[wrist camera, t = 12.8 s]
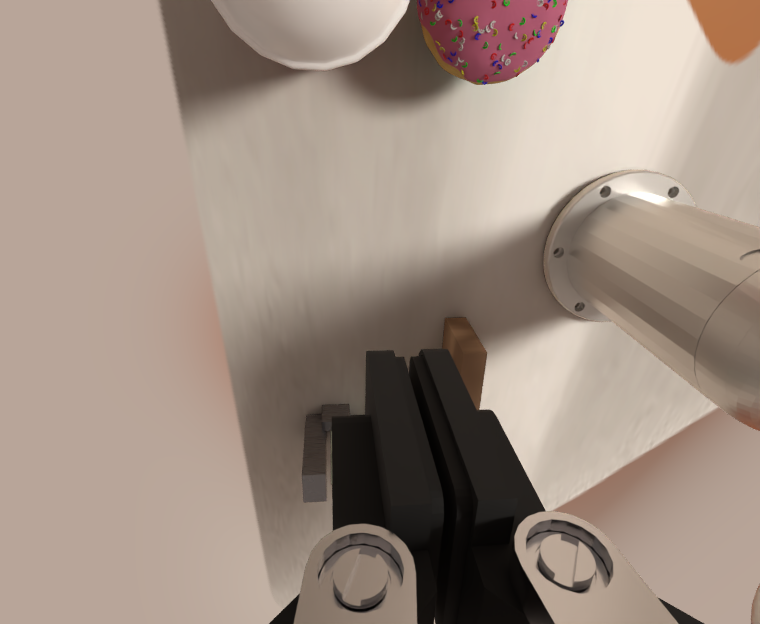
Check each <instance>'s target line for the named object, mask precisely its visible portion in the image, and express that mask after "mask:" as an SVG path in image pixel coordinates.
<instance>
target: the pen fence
mask: <svg viewBox="0 0 760 624" xmlns="http://www.w3.org/2000/svg"><path fill="white" fill-rule="evenodd" d="M442 349H448V350H449V352H450V354H451V356H452V358H453V360H454V362H455V365H456V367H457V369H458V371H459V373H460V375H461V377H462V380H463V382H464V384H465V386H466V388H467V390H468V392H469V394H470V397H471V399H472V401H473V403H474V405H475V407H476V409H477V410H479V408H480V401H481V394H482V386H483V379H484V372H485V365H486V358H487V352H486V350H485V348H484V347H483V345H482V343H481V342H480V340H479V338H478V337H477V335H476V334H475V332H474V330H473V329H472V327H471V325H470V324H469V322H468V321H467V319H466V318H445V323H444V334H443V345H442Z"/></svg>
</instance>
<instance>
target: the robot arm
mask: <svg viewBox="0 0 760 624" xmlns="http://www.w3.org/2000/svg"><path fill="white" fill-rule="evenodd" d="M601 189H602V190H601ZM600 190H601V192H600ZM555 249H556V251H555ZM554 251H555V252H554ZM543 267H544V273H545V279H546V282H547V284H548V287H549V289H550V291H551V293H552V294H553V296H554V297H555V298H556V300H557V301H558V302H559V303H560V304H561V305H562V306H563V307H564V308H565V309H567V310H568V311H570V312H571V313H572V314H574V315H576V316H578V317H581V318H583V319H586V320H591V321H597V322H613V323H615V324H616V325H617V326H618V327H620V328H621V329H622V330H623V331H625V332H626V333H627V334H628V335H630V336H631V337H632V338H633V339H635V340H636V341H637V342H638V343H640V344H641V345H642V346H643V347H644V348H646V349H647V350H648V351H649V352H651V353H652V354H653V355H654V356H656V357H657V358H658V359H659V360H661V361H662V362H663V363H664V364H666V365H667V366H668V367H669V368H671V369H672V370H673V371H674V372H676V373H677V374H678V375H679V376H681V377H682V378H683V379H684V380H685V381H687V382H688V383H689V384H690V385H692V386H693V387H694V388H695V389H697V390H698V391H699V392H700V393H702V394H703V395H704V396H705V397H707V398H708V399H710V400H711V401H712V402H713V403H715V404H716V405H717V406H718V407H720V408H721V409H722V410H723V411H725V412H726V413H728V414H729V415H730V416H732V417H733V418H735V419H736V420H738V421H739V422H741V423H743V424H745V425H747V426H749V427H751V428H753V429H755V430H758V431H760V227H757V226H754V225H751V224H747V223H744V222H741V221H738V220H735V219H731V218H728V217H725V216H722V215H718V214H715V213H712V212H709V211H706V210H702V209H699V208H697V206H696V204H695V202H694V200H693V198H692V196H691V194H690V193H689V192H688V191H687V189H686V188H685V187H684V186H683V185H682V184H681V183H679V182H678V181H676V180H675V179H673V178H672V177H669V176H666V175H664V174H661V173H658V172H653V171H648V170H626V171H621V172H616V173H613V174H610V175H608V176H605V177H602V178H600V179H598V180H597V181H595V182H593V183H592V184H590V185H588V186H587V187H585V188H584V189H583V190H582V191H580V192H579V193H578V194H577V195H576V196H574V197H573V198H572V199H571V200H570V202H569V203H568V204H567V205H566V206H565V207H564V209H563V210H562V211H561V213H560V214H559V216H558V217H557V219H556V221H555V222H554V224H553V226H552V228H551V231H550V233H549V235H548V238H547V242H546V246H545V250H544V264H543ZM332 499H333V531H332V532H331V533H329V534H328V535H326V536H325V537H324V538H322V539H321V540H320V541H319V543H318V544H317V545H316V546H315V548H314V549H313V550H312V551H311V554H310V556H309V559H308V562H307V564H306V567H305V572H304V577H303V581H302V586H301V591H300V594H299V595H298V596H297V597H296V598H295V599H294V600H293V601H292V602H291V603H290V604H289V605H288V606H286V607H285V608H284V609H283V610H282V611H281V613H279V615H277V616H276V617H275V618H274V619H273V620H272V621H271V622H270V623H269V624H434V618H435V623H436V624H704V623H702V622H700V621H698V620H697V619H695V618H693V617H691V616H690V615H688V614H686V613H684V612H683V611H681V610H679V609H677V608H675V607H674V606H672V605H670V604H668V603H667V602H665V601H663V600H661V599H660V598H658V597H656V595H655V594H654V593H653V592H652V590H651V589H650V588H649V587H648V585H647V584H646V583H645V582H644V581H643V579H642V578H641V577H640V575H639V574H638V573H637V572H636V571H635V569H634V568H633V567H632V566H631V564H630V563H629V562H628V561H627V559H626V558H625V557H624V556H623V554H622V553H621V552H620V551H619V550H618V548H617V547H616V546H615V544H614V543H613V542H612V541H611V540H610V539H609V538H608V537H607V536H606V535H605V534H604V533H603V532H602V531H601V530H599V529H598V528H596V527H595V526H593V525H592V524H590V523H589V522H587V521H585V520H583V519H581V518H578V517H576V516H573V515H571V514H567V513H562V512H556V511H547V512H546V511H545V509H544V507H543V505H542V503H541V501H540V499H539V497H538V495H537V493H536V492H535V490H534V488H533V486H532V484H531V482H530V480H529V478H528V476H527V474H526V472H525V470H524V469H523V467H522V465H521V463H520V461H519V459H518V457H517V455H516V453H515V451H514V449H513V447H512V445H511V444H510V442H509V440H508V438H507V436H506V434H505V432H504V430H503V428H502V426H501V424H500V422H499V421H498V419H497V417H496V415H495V414H494V412H493V411H491V410H477V409H476V407H475V405H474V403H473V401H472V399H471V397H470V394H469V392H468V390H467V388H466V386H465V384H464V382H463V380H462V377H461V375H460V373H459V371H458V369H457V367H456V365H455V362H454V360H453V358H452V356H451V354H450V352H449V350H448V349H421V350H420V353H419V356H417V357H411V359H410V368H409V373H408V369H407V366H406V363H405V359H404V357H395V354H394V351H393V350H387V351H367V352H366V396H365V415H351V416H332ZM751 624H760V584H759V586H758V588H757V590H756V593H755V597H754V600H753V603H752V610H751Z"/></svg>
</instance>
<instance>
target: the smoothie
mask: <svg viewBox="0 0 760 624" xmlns="http://www.w3.org/2000/svg"><path fill="white" fill-rule="evenodd" d="M211 1H212V3H213V4H214V6H215V7H216V9H217V10H218V12H219V13H220V15H221V16H222V18H223V19H224V21H225V22H226V24H227V25H228V27H229V28H230V30H231V31H232V32H234V33H235V34H236V35H237V36H238V37H239V38H241V39H242V40H243V41H244V42H245V43H247V44H248V45H249V46H250V47H251V48H253V49H254V50H255V51H256V52H257V53H259V54H260V55H261V56H264V57H266V58H268V59H271V60H273V61H275V62H278V63H280V64H282V65H285V66H287V67H289V68H292V69H301V70H317V71H328V70H331V69H335V68H338V67H342V66H345V65H348V64H352V63H355V62H358V61H359V60H361V59H362V58H363V57H365V56H366V55H367V54H369V53H370V52H371V51H373V50H374V49H375V48H377V47H378V46H379V45H381V44H382V43H383V42H385V40H386V39H387V38H388V36H389V35H390V33H391V32H392V31H393V29H394V28H395V26H396V25H397V24H398V22H399V21H400V19H401V18H402V17H403V15H404V14H405V12H406V10H407V7H408V4H409V1H410V0H211Z"/></svg>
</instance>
